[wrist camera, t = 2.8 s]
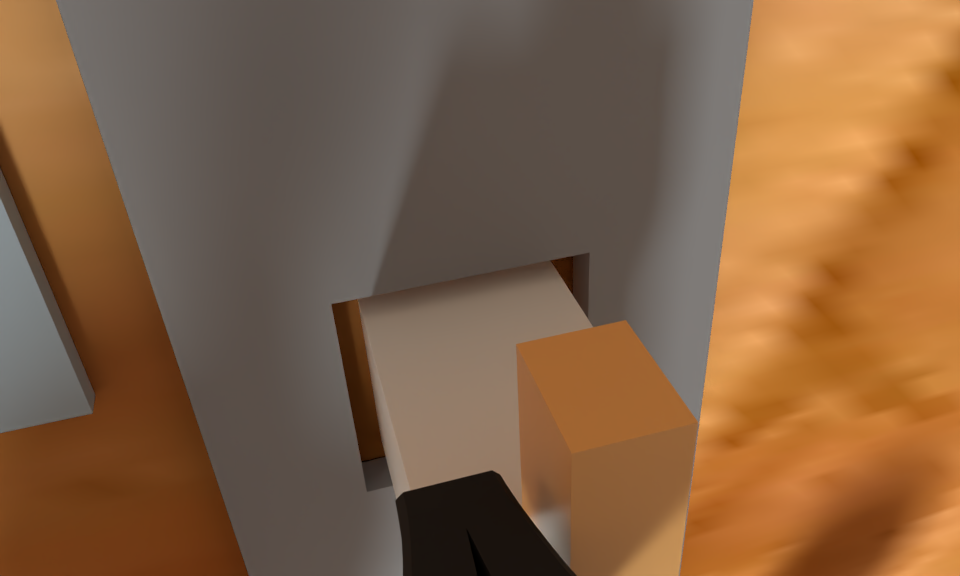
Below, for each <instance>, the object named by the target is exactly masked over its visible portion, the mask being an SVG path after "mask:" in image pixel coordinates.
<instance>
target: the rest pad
mask: <svg viewBox="0 0 960 576" xmlns="http://www.w3.org/2000/svg"><path fill="white" fill-rule="evenodd" d="M94 401H95V393H94V390H93V388H92V386H91V383H90V381H89V379H88V376H87V374H86V371H85V369H84V367H83V364H82V362H81V359H80V357H79V355H78V352H77V350H76V347H75V345H74V343H73V340H72V338H71V336H70V333H69V331H68V328H67V326H66V324H65V321H64V319H63V316H62V314H61V312H60V309H59V307H58V304H57V302H56V300H55V297H54V295H53V293H52V290H51V288H50V285H49V283H48V281H47V278H46V276H45V273H44V271H43V269H42V266H41V264H40V262H39V259H38V257H37V254H36V252H35V250H34V247H33V245H32V242H31V240H30V238H29V235H28V233H27V230H26V228H25V226H24V223H23V221H22V219H21V216H20V214H19V211H18V209H17V207H16V204H15V202H14V199H13V197H12V195H11V192H10V190H9V188H8V185H7V183H6V180H5V178H4V176H3V173H2V171H1V168H0V433H3V432H8V431H13V430H17V429H22V428H27V427H32V426H36V425H41V424H46V423H50V422H55V421H60V420H64V419H69V418H74V417H78V416H83V415H88V414H93V408H94Z"/></svg>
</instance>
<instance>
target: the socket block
mask: <svg viewBox="0 0 960 576" xmlns="http://www.w3.org/2000/svg"><path fill="white" fill-rule="evenodd" d="M56 2H57V5H58V8H59V11H60V14H61V17H62V20H63V23H64V26H65V29H66V32H67V35H68V38H69V40H70V43H71V46H72V49H73V52H74V55H75V58H76V61H77V64H78V67H79V70H80V73H81V76H82V79H83V82H84V85H85V88H86V91H87V94H88V97H89V100H90V103H91V106H92V109H93V112H94V115H95V118H96V121H97V124H98V127H99V130H100V133H101V136H102V139H103V142H104V145H105V148H106V151H107V154H108V157H109V160H110V163H111V166H112V169H113V172H114V175H115V178H116V181H117V184H118V187H119V190H120V193H121V196H122V199H123V202H124V205H125V208H126V211H127V214H128V217H129V220H130V223H131V226H132V228H133V231H134V234H135V237H136V240H137V243H138V246H139V249H140V252H141V255H142V258H143V261H144V264H145V267H146V270H147V273H148V276H149V279H150V282H151V285H152V288H153V291H154V294H155V297H156V300H157V303H158V306H159V309H160V312H161V315H162V318H163V321H164V324H165V327H166V330H167V333H168V336H169V339H170V342H171V345H172V348H173V351H174V354H175V357H176V360H177V363H178V366H179V369H180V372H181V375H182V378H183V381H184V384H185V387H186V390H187V393H188V396H189V399H190V402H191V405H192V408H193V411H194V413H195V416H196V419H197V422H198V425H199V428H200V431H201V434H202V437H203V440H204V443H205V446H206V449H207V452H208V455H209V458H210V461H211V464H212V467H213V470H214V473H215V476H216V479H217V482H218V485H219V488H220V491H221V494H222V497H223V500H224V503H225V506H226V509H227V512H228V515H229V518H230V521H231V524H232V527H233V530H234V533H235V536H236V539H237V542H238V545H239V548H240V551H241V554H242V557H243V560H244V563H245V566H246V569H247V572H248V575H249V576H403V555H402V539H401V532H400V526H399V520H398V514H397V508H396V503H395V500H396V496H395V492H394V488H393V484H392V480H391V476H390V472H389V468H388V464H387V460H386V457H383V458H379V459H374V460H370V461H366V462H362V463H361V458H360V452H359V447H358V442H357V437H356V431H355V426H354V421H353V416H352V410H351V405H350V400H349V395H348V389H347V384H346V379H345V374H344V368H343V363H342V358H341V353H340V347H339V342H338V337H337V332H336V326H335V321H334V316H333V311H332V305H331V304H335V303H340V302H345V301H350V300H355V299H360V298H365V297H370V296H375V295H380V294H385V293H390V292H395V291H400V290H405V289H410V288H415V287H420V286H425V285H430V284H435V283H440V282H445V281H450V280H455V279H460V278H465V277H470V276H475V275H480V274H485V273H490V272H495V271H500V270H505V269H510V268H515V267H520V266H525V265H530V264H535V263H540V262H545V261H550V260H555V259H560V258H565V257H570V256H573V296H574V298H575V300H576V301H577V303H578V304H579V306H580V307H581V309H582V310H583V312H584V314H585V315H586V317H587V318H588V320H589V321H590V323H591V324H592V326H593V327H597V326H601V325H606V324H610V323H615V322H620V321H624V320H626V321H627V322H628V324H629V325H630V327H631V328H632V329H633V331H634V332H635V334H636V335H637V336H638V338H639V339H640V341H641V342H642V344H643V345H644V346H645V348H646V349H647V351H648V352H649V353H650V355H651V356H652V358H653V359H654V360H655V362H656V363H657V365H658V366H659V368H660V369H661V370H662V372H663V373H664V375H665V376H666V377H667V379H668V380H669V382H670V383H671V384H672V386H673V387H674V389H675V390H676V392H677V393H678V394H679V396H680V397H681V399H682V400H683V401H684V403H685V404H686V406H687V407H688V409H689V410H690V411H691V413H692V414H693V416H694V417H695V418H696V420H697V421H698V428H699V420H700V412H701V405H702V397H703V389H704V381H705V374H706V366H707V358H708V350H709V342H710V335H711V327H712V319H713V311H714V304H715V296H716V288H717V280H718V272H719V265H720V257H721V249H722V241H723V234H724V226H725V218H726V210H727V202H728V195H729V187H730V179H731V171H732V164H733V156H734V148H735V140H736V133H737V125H738V117H739V109H740V101H741V94H742V86H743V78H744V70H745V63H746V55H747V47H748V39H749V31H750V24H751V16H752V8H753V0H56ZM697 436H698V429H697ZM697 436H696V444H697ZM696 444H695V451H696ZM694 459H695V452H694ZM693 467H694V460H693ZM692 475H693V468H692ZM691 482H692V476H691ZM690 490H691V483H690ZM689 498H690V491H689ZM688 506H689V499H688ZM687 514H688V507H687ZM686 521H687V515H686ZM685 529H686V523H685ZM684 537H685V530H684ZM683 545H684V538H683ZM682 552H683V546H682ZM681 560H682V554H681ZM680 568H681V562H680ZM679 576H680V569H679Z"/></svg>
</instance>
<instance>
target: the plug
mask: <svg viewBox="0 0 960 576" xmlns="http://www.w3.org/2000/svg"><path fill="white" fill-rule="evenodd" d="M358 305H359V311H360V317H361V323H362V329H363V335H364V341H365V346H366V352H367V358H368V364H369V370H370V376H371V382H372V388H373V394H374V400H375V406H376V412H377V418H378V424H379V429H380V435H381V440H382V444H383V448H384V452H385V456H386V460H387V464H388V468H389V472H390V476H391V480H392V484H393V488H394V492H395V496H396V499H397V498H398V497H399V496H400V495H401V494H402V493H403V492H406V491H410V490H414V489H418V488H422V487H426V486H430V485H434V484H438V483H442V482H446V481H450V480H454V479H458V478H462V477H466V476H471V475H475V474H479V473H483V472H487V471H491V470H493V471H495V472H496V473H498V474H500V475H501V476H502V478H503V480H504V481H505V483H506V485H507V486H508V488H509V489H510V491H511V492H512V493H513V495H514V496H515V498H516V499H517V501H518V502H519V504H520V505H521V506H522V486H521V460H520V433H519V407H518V381H517V354H516V344H519V343H523V342H528V341H532V340H537V339H542V338H546V337H551V336H555V335H560V334H564V333H569V332H574V331H578V330H583V329H587V328H592V327H593V326H592V324H591V323H590V321H589V320H588V318H587V317H586V315H585V314H584V312H583V310H582V309H581V307H580V306H579V304H578V303H577V301H576V300H575V298H574V296H573V295H572V293H571V292H570V290H569V289H568V287H567V286H566V284H565V282H564V281H563V279H562V278H561V276H560V275H559V273H558V272H557V270H556V269H555V267H554V265H553V264H552V262H551V261H545V262H540V263H535V264H530V265H525V266H520V267H515V268H510V269H505V270H500V271H495V272H490V273H485V274H480V275H475V276H470V277H465V278H460V279H455V280H450V281H445V282H440V283H435V284H430V285H425V286H420V287H415V288H410V289H405V290H400V291H395V292H390V293H385V294H380V295H375V296H370V297H365V298H360V299H358Z"/></svg>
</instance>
